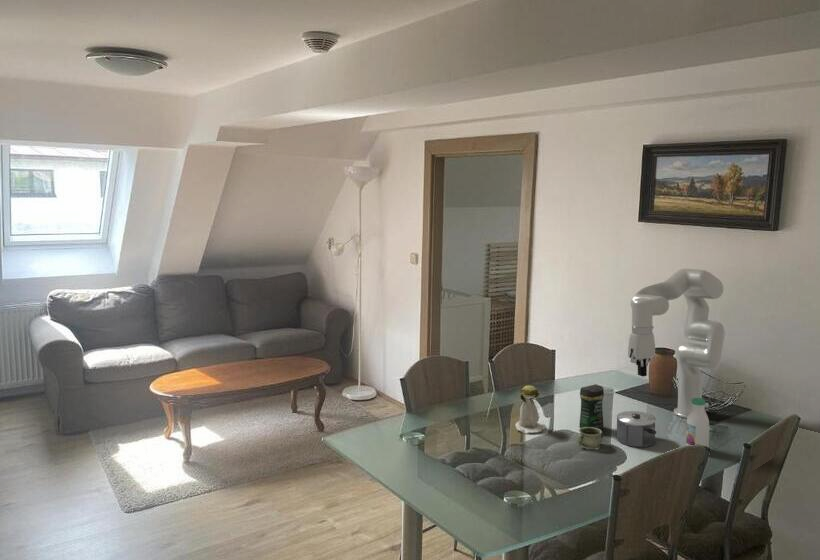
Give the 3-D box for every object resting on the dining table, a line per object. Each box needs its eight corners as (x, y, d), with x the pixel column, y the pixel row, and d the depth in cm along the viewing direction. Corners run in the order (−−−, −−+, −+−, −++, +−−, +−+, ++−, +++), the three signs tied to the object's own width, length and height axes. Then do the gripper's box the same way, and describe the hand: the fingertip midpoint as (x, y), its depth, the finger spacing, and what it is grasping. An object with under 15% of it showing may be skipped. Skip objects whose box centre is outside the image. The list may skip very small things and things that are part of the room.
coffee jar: (590, 434, 254) (590, 390, 252) (576, 428, 261) (576, 385, 259) (607, 429, 259) (607, 385, 257) (592, 423, 266) (592, 381, 264)
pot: (634, 428, 258) (634, 409, 257) (670, 445, 240) (670, 424, 239) (604, 435, 253) (605, 415, 252) (640, 452, 235) (640, 431, 234)
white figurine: (511, 432, 260) (511, 389, 257) (520, 421, 271) (519, 381, 269) (540, 435, 255) (539, 392, 252) (547, 425, 266) (547, 383, 264)
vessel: (585, 453, 236) (585, 437, 236) (570, 444, 245) (570, 429, 244) (610, 447, 241) (610, 431, 240) (595, 439, 249) (595, 424, 248)
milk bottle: (707, 447, 237) (708, 396, 235) (709, 455, 230) (711, 403, 227) (685, 445, 240) (686, 395, 237) (687, 453, 232) (688, 401, 230)
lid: (638, 411, 255) (638, 406, 254) (665, 422, 242) (665, 417, 241) (609, 417, 249) (609, 412, 249) (634, 428, 236) (634, 423, 236)
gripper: (649, 325, 249) (649, 370, 252) (620, 330, 244) (620, 376, 246) (664, 329, 242) (663, 374, 245) (634, 334, 237) (634, 381, 239)
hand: (642, 375), depth 246 cm, fingers closed
